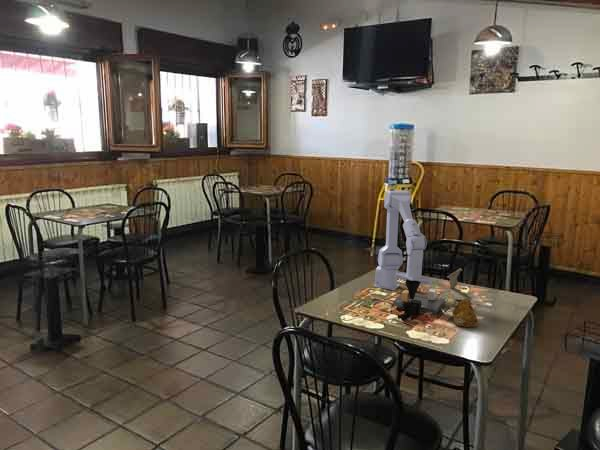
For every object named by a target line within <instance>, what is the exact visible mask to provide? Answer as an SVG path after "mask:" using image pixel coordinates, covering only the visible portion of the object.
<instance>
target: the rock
mask: <svg viewBox="0 0 600 450" xmlns="http://www.w3.org/2000/svg"><path fill="white" fill-rule="evenodd" d="M452 316H453V323H454V324H456V325H457V326H459V327H467V328H468V327H475V328H476V327H477V326H478V325H479V320H478V317H477V314H476V312H475V309H474V307H473V306H472V304H471V303H470V300H459V302H458V303H457V304H456V306H455V307H454V309H452Z"/></svg>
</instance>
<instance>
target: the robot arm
mask: <svg viewBox="0 0 600 450" xmlns="http://www.w3.org/2000/svg"><path fill="white" fill-rule="evenodd" d="M411 200H412V193H411V192H410V190H408V189H407V190H390V189H389V190H386V191H385V194H384V201H383V206H384V208H385V209H386V228H385V229H386V231H385V237H386V238H385V245H384V246H382V247H381V248H380V249H379V251H378V255H377V262H378V265H377V267H376V268H375V273H374V275H375V276H374V284H373V287H375V288H380V289H386V290H392V291H395V290H397V289H398V288H399V287H400V286H401V284H399V283H398V279H399V280H404V281H405V286H406V288H407V290H408V291H409V296H410V299H414V297H415V294H417V291H418V289H419V287H420V285H421V284H427V285H429V286H431V285H432V284H433V278H430V277H428V276H427V277H426V276H423V275H422V270H423V256H424V251H425V250H426V249H427V244H428V243H427V242H428V241H427V238H426V235H424V234H423V233H421V231H420V228H419V225H418V222H417V220H416V219H414V218H413V215H412V210H411V206H410V205H411V203H412V201H411ZM399 214H400V215H401V217H402V220H403V224H402V228H403V230H404V234H405V237H406V241H405V247H406V254H407V261H406V273H402V272H401V273H400V272H399V269H400V267H401V266H402V265H403V262H404V257H403V250H402V249H400V247H398V237H399V235H398V234H399V233H398V231H399Z"/></svg>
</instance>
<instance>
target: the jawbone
mask: <svg viewBox="0 0 600 450" xmlns="http://www.w3.org/2000/svg"><path fill="white" fill-rule="evenodd" d="M462 271H463V269H462V268H461V267H460V268H458V269H457V270H456V271H453V272H452V273H450V274H448V276H447V278H448V279H449V289H450V291H451V293H452V295H453V297H454V298H453V299H454V300H456V301H458V300H459V301H462V300H468V301H469V302H470V301H471V300H472V299H473V298H472V297H467V296H466V295H464V294H462V291H461V289H459V288H456V287H457V286H458V285H459V282H458V276H459V274H460V272H462Z"/></svg>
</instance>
